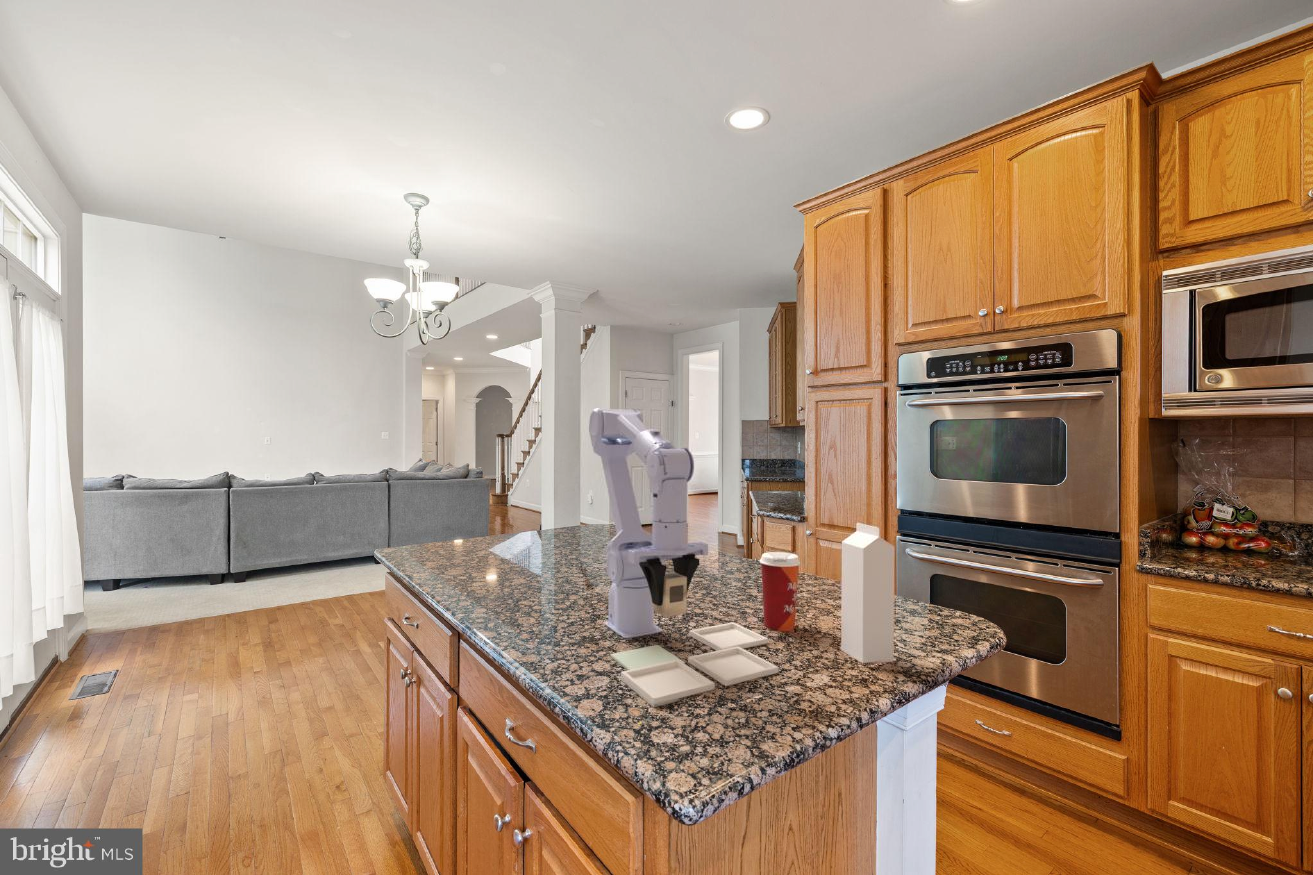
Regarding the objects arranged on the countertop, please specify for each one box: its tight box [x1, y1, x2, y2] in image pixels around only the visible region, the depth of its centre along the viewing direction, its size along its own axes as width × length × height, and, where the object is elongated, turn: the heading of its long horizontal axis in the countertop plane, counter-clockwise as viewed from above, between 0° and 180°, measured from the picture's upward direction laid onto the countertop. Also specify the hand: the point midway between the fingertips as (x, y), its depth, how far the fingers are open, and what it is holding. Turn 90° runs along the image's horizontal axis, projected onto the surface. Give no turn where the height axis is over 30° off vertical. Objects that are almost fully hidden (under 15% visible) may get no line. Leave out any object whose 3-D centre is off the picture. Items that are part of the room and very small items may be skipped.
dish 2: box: [688, 621, 769, 651], centre depth 102 cm, size 10×10×1 cm
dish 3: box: [687, 646, 780, 687], centre depth 89 cm, size 10×10×1 cm
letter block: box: [653, 571, 688, 618], centre depth 94 cm, size 4×4×6 cm
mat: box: [609, 644, 686, 671], centre depth 92 cm, size 9×9×1 cm
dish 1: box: [620, 659, 715, 708], centre depth 83 cm, size 10×10×1 cm
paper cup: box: [759, 551, 802, 632], centre depth 109 cm, size 8×8×14 cm
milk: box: [840, 522, 895, 665], centre depth 95 cm, size 6×6×22 cm
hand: (668, 602), depth 95 cm, fingers closed on letter block, 4 cm apart
